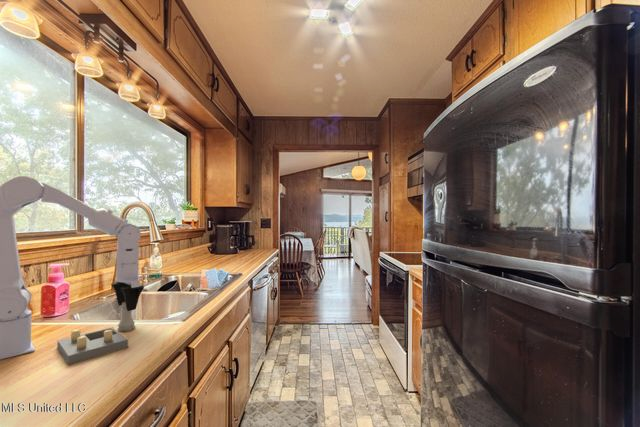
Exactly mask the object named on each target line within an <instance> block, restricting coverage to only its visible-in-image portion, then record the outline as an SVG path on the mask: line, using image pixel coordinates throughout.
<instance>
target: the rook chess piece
mask: <svg viewBox="0 0 640 427" xmlns="http://www.w3.org/2000/svg"><path fill="white" fill-rule="evenodd" d="M119 307H120V308H121V318H120V321H119V322H118V324H117V331H118V332H127V331H131V330H134V328H136V325H135V320H134V318H133V316H132V311H133V310H131V311H127V309H126V303H125V302H124V303H122V305H121V306H119Z"/></svg>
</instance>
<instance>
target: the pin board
mask: <svg viewBox="0 0 640 427" xmlns="http://www.w3.org/2000/svg"><path fill="white" fill-rule="evenodd" d="M70 333H71V335H70V337H66V338H62V339H58V340H57V347H56V348H57V350H58V352H59V353H60V355H61V356H62V357H63V359H64V360H65V362H66V364H67V365H71V364H75V363H78V362H82V361H85V360H88V359H92V358H96V357H99V356H102V355H106V354H109V353H112V352H115V351H120V350H122V349H126V348H128V347H129V346H128V345H129V339H128V338H127V337H125V336H124V335H123V334H122V333H120V331H119V330H118V329H116V328H114V327H113V326H112V327H108V328H103V329H100V330H99V329H98V330H94V331H90V332H87V333H82V334H81V329H79V328H78V329H73V330H71V331H70Z"/></svg>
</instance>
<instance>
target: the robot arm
mask: <svg viewBox="0 0 640 427" xmlns="http://www.w3.org/2000/svg"><path fill="white" fill-rule="evenodd" d="M38 201H40V202H42V203H51V204H58V205H59V206H62V207H64V208H65V209H68V210H69V211H71V212H74V213H76V214H78V215H80V216H82V217H84V218H85V219H87V222H88V225H89V226H91V227H92V228H95V229H97V230H99V231H100V232H102V233H105V234H107V235H108V236H110V237H113V236H115V238H116V239H117V248H116V258H115V259H116V261H115V262H116V268H115V270H116V271H115V276H116V277H115V279H114V281H115V282H113V283H111V284H110V285H111V287H112V288H113V290H114V293H115V296H116V300H117V304H118V306H119V307H120V306H121V305H122V303H124V302H125V303H126V309H127V311H131V310H132V311H134V310H136V309H137V307H138V303H139V298H140V296H141V294H142V293H143V290H145V286H144V285H143V284H142V285H140V284H141V280H140V279H143V276H144V275H142V274H139V271H140V270H139V267H140V266H139V264H140V262H139V260H140V257H139V256H140V254H139V253H140V246H139V244H140V243H139V240H140V238H141V237H142V233H141V230H140V228H139V227H138V226H137V225H135V224H132V223H130V222H129V219H127V218H124V219H123V218H121V217H119V216H118V215H116V214H114V212H113V211H112V209H105V208H98V209H95V208H94V207H91V206H89V205H88V204H86V203H84V202H83V201H81V200H79V199H77V198H75V197H73V196H72V195H70V194H68V193H67V192H65V191H63V190H61V189H59V188H57V187H55V186H52V185H50V184H47V183H45V182H39V181H38V180H37V179H35V178H33V177H30V176H26V175H25V176H24V175H21V176H16V177H13V178H10V179H9V180H8V181H6V182H4V183H2V184H0V360H4V359H7V358H11V357H15V356H20V355H24V354H27V353H32V352H35V350H36V348H35V347H34V346H35V345H34V344H33V342H32V314H33V312H32V310H30V309H29V308H28V305H29V303H30V302H31V300H32V294H31V292H30V290H29V289H28V288H27V287H26V285H25V280H24V277H23V274H22V268H21V261H20V254H19V248H18V241H17V233H16V227H15V226H16V224H15V220H14V216H15V215H16V214H17V213H18V212H20V211H21V210H22V209H24V207H26V206H28V205H31V204H34V203H36V202H38ZM132 311H131V312H132Z"/></svg>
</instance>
